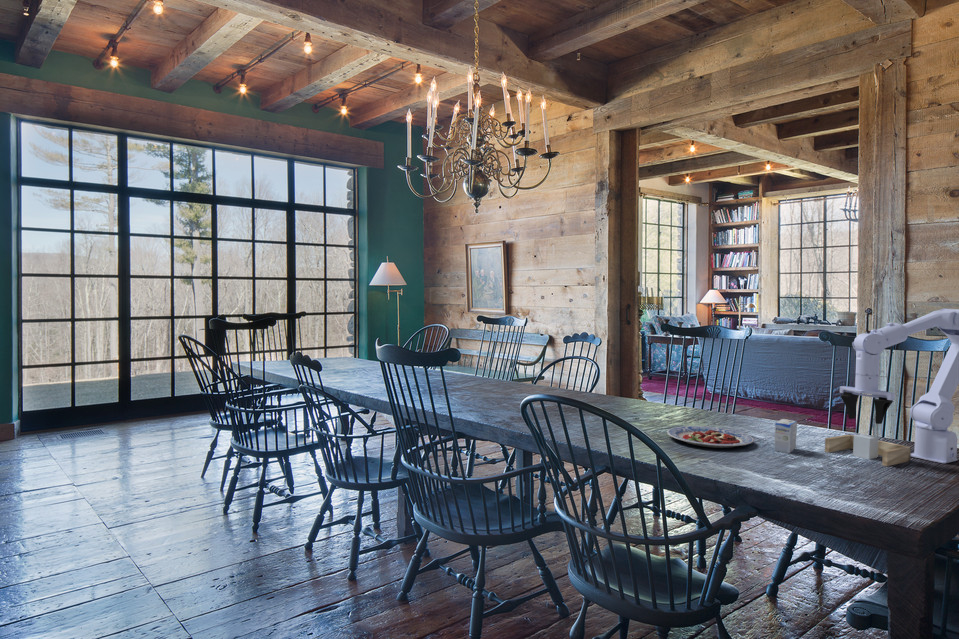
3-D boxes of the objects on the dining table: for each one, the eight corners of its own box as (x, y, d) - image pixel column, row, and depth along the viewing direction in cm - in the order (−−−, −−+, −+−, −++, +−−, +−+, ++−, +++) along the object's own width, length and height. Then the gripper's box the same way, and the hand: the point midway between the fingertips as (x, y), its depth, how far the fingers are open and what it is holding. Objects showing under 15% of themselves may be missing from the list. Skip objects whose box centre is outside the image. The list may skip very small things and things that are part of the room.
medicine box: (780, 446, 189) (781, 418, 188) (796, 448, 186) (797, 420, 186) (773, 451, 183) (774, 422, 182) (790, 453, 180) (791, 424, 179)
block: (877, 457, 177) (878, 437, 177) (869, 459, 175) (869, 438, 174) (861, 453, 181) (862, 433, 181) (853, 455, 179) (853, 435, 178)
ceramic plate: (718, 431, 210) (718, 422, 210) (772, 449, 185) (772, 440, 185) (651, 434, 203) (652, 425, 203) (698, 454, 178) (698, 444, 178)
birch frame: (910, 460, 173) (910, 447, 173) (886, 466, 167) (887, 451, 167) (848, 447, 189) (848, 434, 188) (824, 451, 183) (825, 438, 182)
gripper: (834, 372, 182) (832, 417, 182) (885, 378, 169) (883, 427, 169) (848, 371, 185) (846, 415, 185) (899, 377, 172) (897, 424, 173)
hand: (865, 421), depth 178 cm, fingers open, 7 cm apart
